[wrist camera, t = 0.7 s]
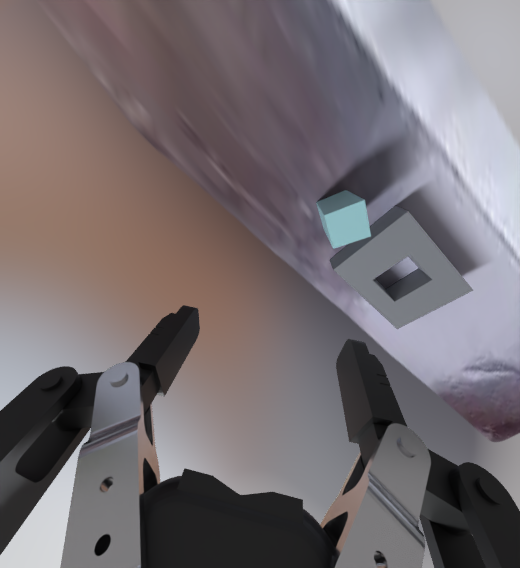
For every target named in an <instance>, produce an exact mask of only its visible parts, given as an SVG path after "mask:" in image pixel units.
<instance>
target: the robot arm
mask: <svg viewBox="0 0 520 568" xmlns="http://www.w3.org/2000/svg"><path fill="white" fill-rule="evenodd" d="M199 329H200V326H199V313H198V309H197V308H193V307H189V306H182V307H181V308H180V309H179V311H178V312H177V313H176V314H174V313H170V314H169V315H167V316H166V317H164V318H163V319H162V320H161V321H160V322H159V323H158V324H157V325H156V328H154V329H153V330H152V331H151V333H150V334H149V335H148V336H147V337H146V338H145V340H144V341H143V342H142V343H141V344H140V346H139V347H138V348H137V349H136V350H135V352H134V353H133V354H132V355H131V356H130V357H129V359H128V360H127V361H126V362H123V363H119V364H116V365H114V366H112V367H110V368H109V369H107V370H106V371H105V372H100V373H90V374H78V373H77V372H76V370H75V369H74V368H72V367H59V368H55V369H52V370H50V371H48V372H46V373H44V374H42V375H41V376H39V377H38V378H37V379H36V380H34V381H33V382H32V383H31V384H30V385H29V386H28V387H26V388H25V389H24V390H23V391H22V392H21V393H20V394H19V395H18V396H16V397H15V398H14V399H13V400H12V401H11V402H10V403H9V404H8V405H6V406H5V407H4V408H3V409H2V410H1V411H0V555H1V553H2V552H3V551H4V549H5V548H6V546H7V545H8V544H9V542H10V541H11V539H12V538H13V536H14V535H15V534H16V532H17V531H18V529H19V528H20V527H21V525H22V524H23V522H24V521H25V520H26V518H27V517H28V515H29V514H30V513H31V511H32V510H33V508H34V507H35V506H36V504H37V503H38V501H39V500H40V499H41V497H42V496H43V494H44V493H45V491H46V490H47V488H48V487H49V486H50V485H51V483H52V482H53V480H54V479H55V477H56V476H57V475H58V473H59V472H60V470H61V469H62V468H63V466H64V465H65V463H66V462H67V461H68V459H69V458H70V456H71V455H72V453H73V452H74V451H75V449H76V448H77V446H78V445H79V444H80V442H81V441H82V439H83V438H84V436H85V435H86V434H87V432H88V431H89V430H90V428H91V432H90V437H89V440H88V442H86V443H84V445H82V447H81V450H80V452H79V457H78V462H77V468H76V474H75V481H74V487H73V493H72V500H71V506H70V512H69V518H68V524H67V531H66V537H65V543H64V549H63V555H62V561H61V568H422V563H423V557H424V551H425V540H424V535H423V534H422V532H421V531H420V530H419V527H418V522H419V517H420V520H421V524H422V527H423V531H424V534H425V537H426V541H427V544H428V547H429V551H430V554H431V558H432V561H433V564H434V568H520V511H519V509H518V507H517V506H516V504H515V502H514V501H513V499H512V497H511V496H510V494H509V493H508V491H507V490H506V489H505V488H504V486H503V485H502V484H501V483H500V482H499V481H498V480H497V479H496V478H495V477H494V476H493V475H492V474H490V473H489V472H488V471H486V470H485V469H484V468H482V467H480V466H478V465H476V464H474V463H469V462H467V463H463V464H461V465H459V466H457V465H456V464H454V463H452V462H450V461H448V460H447V459H445V458H443V457H441V456H439V455H437V454H436V453H434V452H432V451H431V450H429V449H427V447H426V445H425V444H424V442H423V441H422V440H421V439H420V437H419V436H418V435H417V434H416V433H415V432H413V431H412V430H411V429H410V428H408V427H407V425H406V423H405V420H404V418H403V415H402V413H401V410H400V408H399V405H398V403H397V400H396V398H395V396H394V393H393V390H392V388H391V387H390V383H389V381H388V378H387V377H386V376H387V375H386V373H385V370H384V368H383V366H382V364H381V363H380V362H379V361H378V359H377V358H376V357H375V355H371V354H369V352H368V349H367V346H366V344H365V343H364V342H360V341H356V340H351V339H348V340H347V341H346V342H345V344H344V346H343V348H342V350H341V352H340V354H339V356H338V358H337V363H336V369H337V375H338V381H339V386H340V391H341V397H342V403H343V408H344V414H345V420H346V426H347V431H348V437H349V442H353V443H358V444H359V447H360V453H359V454H358V456H357V458H356V460H355V462H354V464H353V466H352V468H351V470H350V472H349V475H348V476H347V478H346V480H345V482H344V484H343V487H342V489H341V491H340V493H339V495H338V496H337V498H336V499H335V501H334V502H333V503H332V505H331V506H330V508H329V509H328V511H327V513H326V515H325V516H324V519H323V521H322V522H321V524H319V523H318V522H317V521H316V520H315V519H314V518H313V516H311V515H310V514H309V513H308V512H307V511H306V510H304V509H303V500H301V499H298V498H294V497H290V496H287V495H283V494H278V493H275V492H267V493H258V494H249V495H239V494H238V493H236V492H235V491H233V490H232V489H230V488H229V487H227V486H226V485H225V484H223V483H222V482H220V481H219V480H218V479H216V478H215V477H214V476H211V475H207V474H204V473H200V472H196V471H192V470H189V469H184V472H183V474H182V476H177V477H174V478H170V479H167V480H165V481H163V482H161V483H160V472H159V465H158V459H157V454H156V447H155V437H154V424H153V411H152V401H153V400H154V398H155V396H156V395H161V396H165V395H166V393H167V391H168V389H169V387H170V386H171V384H172V382H173V380H174V379H175V377H176V375H177V373H178V371H179V370H180V368H181V366H182V364H183V362H184V361H185V359H186V357H187V355H188V354H189V352H190V350H191V348H192V346H193V344H194V343H195V341H196V339H197V337H198V334H199ZM472 535H473V536H472ZM480 554H481V555H480ZM483 561H484V562H483Z"/></svg>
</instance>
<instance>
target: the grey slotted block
mask: <svg viewBox="0 0 520 568" xmlns="http://www.w3.org/2000/svg"><path fill="white" fill-rule="evenodd" d="M370 233H371V236H370V237H367V238H364V239H361V240H358V241H355V242H352V243H349V244H348V245H347V246H346V247H344V248H343V249H342V250H341V251H340V252H338V253H337V254H336V255H335V256H334V257H332V258H331V259H330V262H331V265H332V268H333V270H334V271H335V272H336V273H337V274H338V275H339V276H340V277H342V278H343V279H344V280H345V281H346V282H347V283H348V284H349V285H350V286H351V287H352V288H353V289H355V290H356V291H357V292H358V293H359V294H360V295H361V296H362V297H363V298H364V299H365V300H366V301H367V302H369V303H370V304H371V305H372V306H373V307H374V308H375V309H376V310H377V311H378V312H379V313H380V314H381V315H383V316H384V317H385V318H386V319H387V320H388V321H389V322H390V323H391V324H392V325H393V326H394V327H395V328H397V329H399V328H401V327H403V326H405V325H407V324H409V323H410V322H412V321H414V320H416V319H418V318H420V317H422V316H424V315H426V314H428V313H430V312H432V311H434V310H436V309H438V308H440V307H442V306H444V305H446V304H448V303H450V302H452V301H454V300H456V299H457V298H459V297H461V296H463V295H465V294H467V293H469V292H471V291H473V289H472V288H471V287H470V286H469V284H468V283H467V282H466V281H465V279H464V278H463V277H462V276H461V275H460V273H459V272H458V271H457V270H456V269H455V267H454V266H453V265H452V264H451V262H450V261H449V260H448V259H447V258H446V256H445V255H444V254H443V253H442V251H441V250H440V249H439V248H438V247H437V245H436V244H435V243H434V242H433V241H432V239H431V238H430V237H429V236H428V234H427V233H426V232H425V231H424V230H423V228H422V227H421V226H420V225H419V224H418V222H417V221H416V220H415V219H414V217H413V216H412V215H411V214H410V213H409V211H407V210H404V209H402V208H400V207H398V206H394V207H393V208H392V209H391V210H389V211H388V212H387V213H386V214H385V215H383V216H382V217H381V218H380V219H378V220H377V221H376V222H375V223H374V224H372V225H371V226H370ZM406 257H409V258H410V259H411V260H412V261H413V262H414V263H415V264H416V265H417V267H418V268H419V269H417V270H415V271H414V272H412V273H411V274H409V275H407V276H406V277H404V278H403V279H401V280H400V281H398V282H396V283H395V284H393V285H392V286H390V287H388V288H387V289H385V288H384V287H383V286H382V285H381V284H380V283H379V282H378V281H377V280H376V279H375V278H376V277H378V276H379V275H381V274H382V273H384V272H385V271H387V270H388V269H390V268H391V267H393V266H394V265H396V264H397V263H399V262H400V261H402V260H403V259H405V258H406Z"/></svg>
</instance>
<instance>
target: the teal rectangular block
mask: <svg viewBox="0 0 520 568" xmlns="http://www.w3.org/2000/svg"><path fill="white" fill-rule="evenodd" d="M316 203H317V206H318V210H319V213H320V217H321V221H322V224H323V228H324V230H325V232H326V234H327V236H328V239H329V241H330V243H331V245H332V247H333V249H334V248H337V247H340V246H343V245H346V244H349V243H352V242H355V241H358V240H361V239H364V238H367V237H370V236H371V233H370V227H369V222H368V216H367V210H366V204H365V200H364V199H362V198H360V197H359V196H357V195H355V194H353V193H351V192H349V191H347V190H345V191H342V192H340V193H337V194H335V195H333V196H330V197H328V198H325V199H323V200H320V201H318V202H316Z"/></svg>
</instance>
